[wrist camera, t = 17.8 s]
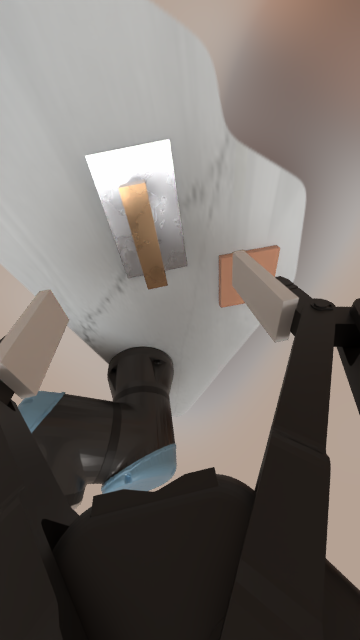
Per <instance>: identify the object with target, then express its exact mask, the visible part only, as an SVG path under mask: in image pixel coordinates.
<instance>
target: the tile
mask: <svg viewBox="0 0 360 640" xmlns="http://www.w3.org/2000/svg"><path fill="white" fill-rule="evenodd" d="M279 251H280V247H278V246H277V245H275V246H270V247H264V248H259V249H253V250H248V251H245V252H246V253H247V254H248V255H250V256H251V257H252V258H253V259H254V260H255V261H257V262H258V263H259V264H260V265H261V266H262V267H264V268H265V269H266V270H267V271H268V272H269V273H271V274H272V275H273V276H274V277H275V273H276V267H277V262H278V257H279ZM232 265H233V253H231V254H225V255H220V256H219V305H220V307H221V308H222V307H227V306H233V305H238V304H243V303H245V302H244V301H243V299H242V298H241V297H240V295H239V294H238V293H237V291H236V290H235V289H234V287H233V286H232Z"/></svg>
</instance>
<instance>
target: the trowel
mask: <svg viewBox="0 0 360 640" xmlns="http://www.w3.org/2000/svg"><path fill="white" fill-rule="evenodd" d="M85 157H86V160H87V163H88V166H89V169H90V171H91V174H92V177H93V180H94V183H95V186H96V188H97V191H98V194H99V197H100V200H101V203H102V205H103V208H104V211H105V214H106V217H107V220H108V223H109V225H110V228H111V231H112V234H113V237H114V240H115V242H116V245H117V248H118V251H119V254H120V257H121V259H122V262H123V265H124V268H125V271H126V274H127V276H128V278H132V277H136V276H141V275H144V277H145V281H146V284H147V288H148V289H153V288H158V287H163V286H167V285H168V284H167V279H166V274H165V270H170V269H174V268H179V267H184V266H187V260H186V253H185V246H184V239H183V232H182V224H181V217H180V210H179V203H178V196H177V189H176V182H175V175H174V167H173V160H172V153H171V146H170V139H167V140H162V141H157V142H152V143H147V144H142V145H137V146H132V147H127V148H122V149H117V150H112V151H107V152H102V153H97V154H92V155H87V156H85Z"/></svg>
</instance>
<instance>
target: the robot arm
mask: <svg viewBox="0 0 360 640" xmlns="http://www.w3.org/2000/svg"><path fill="white" fill-rule="evenodd" d="M232 286H233V287H234V289H235V290H236V291H237V293H238V294H239V295H240V297H241V298H242V299H243V301H244V302H245V303H246V305H247V306H248V307H249V309H250V310H251V311H252V313H253V314H254V315H255V317H256V318H257V319H258V321H259V322H260V323H261V325H262V326H263V327H264V329H265V330H266V331H267V333H268V334H269V335H270V337H271V338H272V339H273V341H274V342H280V341H284V340H288V339H289V334H290V332H291V333H292V334H293V335H294V336H295V338H294V341H293V345H292V349H291V353H290V357H289V361H288V365H287V369H286V373H285V377H284V380H283V384H282V388H281V392H280V396H279V400H278V403H277V408H276V411H275V415H274V419H273V423H272V426H271V430H270V434H269V438H268V442H267V446H266V450H265V453H264V458H263V461H262V465H261V468H260V472H259V476H258V479H257V483H256V487H255V491H254V490H253V489H251V488H250V487H249V486H247V485H246V484H244V483H243V482H241V481H239V480H237V479H235V478H232V477H229V476H226V475H219V474H216V473H215V468H214V467H213V468H208V469H204V470H200V471H196V472H192V473H188V474H184V475H183V476H181V477H179V478H178V479H176V480H174V481H173V482H171V483H169V484H168V485H166V486H164V487H163V488H161V489H159V490H158V491H155V492H149V490H152V489H154V488H156V487H159V486H161V485H162V484H164V483H166V482H167V481H168V480H170V479H171V478H172V476H173V475H174V473H175V471H176V444H175V440H174V431H173V424H172V415H171V408H170V400H169V393H170V389H171V384H172V380H173V375H174V370H173V363H172V361H171V359H170V357H169V356H168V355H167V354H165V353H164V352H162V351H160V350H157V349H154V348H148V347H137V348H131V349H128V350H125V351H123V352H121V353H119V354H117V355H116V356H115V357H114V358H113V359H112V360H111V362H110V364H109V368H108V382H109V386H110V390H111V393H112V398H113V402H112V401H106V400H100V399H94V398H87V397H81V396H74V395H68V394H65V392H62V393H55V392H46V391H39V388H40V386H41V384H42V381H43V379H44V377H45V374H46V372H47V370H48V367H49V365H50V363H51V360H52V358H53V356H54V353H55V351H56V349H57V347H58V344H59V342H60V340H61V338H62V335H63V333H64V331H65V328H66V326H67V324H68V321H69V319H68V317H67V315H66V314H65V312H64V311H63V309H62V307H61V306H60V304H59V303H58V301H57V299H56V298H55V296H54V295H53V293H52V291H51V290H45V291H40V292H39V293H38V294H37V295H36V297H35V298H34V299H33V301H32V302H31V303H30V305H29V306H28V307H27V309H26V310H25V311H24V313H23V314H22V315H21V316H20V318H19V319H18V320H17V322H16V323H15V324H14V326H13V327H12V328H11V330H10V331H9V332H8V334H7V335H6V336H4V337H3V338H2V339H1V340H0V640H360V590H359V589H358V588H356V587H355V586H354V585H353V584H352V583H351V582H350V581H349V580H348V579H347V578H346V577H345V576H344V575H342V573H341V572H340V571H339V570H337V569H336V568H335V567H334V566H333V565H332V564H331V563H330V562H329V561H328V560H327V559H326V541H327V524H328V507H329V488H330V458H329V457H328V456H327V454H326V438H327V426H328V412H329V400H330V386H331V373H332V361H333V347H337V349H338V352H339V355H340V358H341V361H342V364H343V366H344V370H345V373H346V376H347V379H348V381H349V385H350V388H351V391H352V393H353V396H354V399H355V402H356V405H357V408H358V411H359V414H360V298H359V299H356V300H355V301H354V303H353V305H352V307H335V305H334V304H333V303H332V302H329V301H327V300H323V299H312V298H311V297H310V296H309V295H307V294H306V293H305V292H304V291H302V290H301V289H300V288H298V287H297V286H296V285H294V283H292V282H291V281H290V280H289V279H286V278H284V277H281V276H279V277H274V276H273V275H272V274H271V273H269V272H268V271H267V270H266V269H265V268H264V267H262V266H261V265H260V264H259V263H258V262H257V261H255V260H254V259H253V258H252V257H251V256H250V255H248V254H247V253H246V252H245V251H244V250H240V251H235V252H233V265H232ZM14 393H15V394H17V395H18V396H19V397H20V398H21V399H23V398H24V400H23V401H22V402H21V403H20V404H19V406H18V407H17V405H16V403H15V402H14V401H12V400H11V398H12V396H13V394H14ZM95 483H96V484H102V488H101V491H102V493H103V494H101V495H96V496H93V504H92V507H90V508H89V509H88V510H86V511H85V512H84V513H82V514H81V515H80V516H79V515H78V514H77V513H76V512H75V511H74V509H76V508H77V507H78V506H79V505H80V504H81V502H82V498H83V494H84V490H85V487H86V485H87V484H95Z"/></svg>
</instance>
